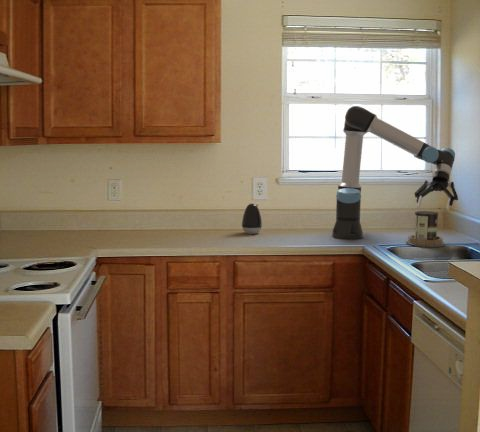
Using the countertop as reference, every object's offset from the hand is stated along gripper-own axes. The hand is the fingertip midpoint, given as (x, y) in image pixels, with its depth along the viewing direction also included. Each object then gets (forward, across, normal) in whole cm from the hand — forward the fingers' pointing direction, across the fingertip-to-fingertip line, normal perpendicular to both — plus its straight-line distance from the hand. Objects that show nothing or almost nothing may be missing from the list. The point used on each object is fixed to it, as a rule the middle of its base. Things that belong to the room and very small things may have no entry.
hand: (432, 209), depth 315 cm
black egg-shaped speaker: (+28, +84, +6) cm, 89 cm away
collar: (+17, 0, -5) cm, 18 cm away
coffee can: (+16, 0, -5) cm, 17 cm away
